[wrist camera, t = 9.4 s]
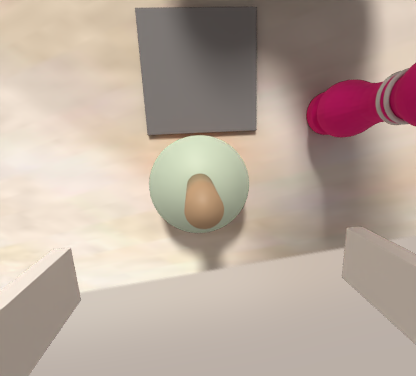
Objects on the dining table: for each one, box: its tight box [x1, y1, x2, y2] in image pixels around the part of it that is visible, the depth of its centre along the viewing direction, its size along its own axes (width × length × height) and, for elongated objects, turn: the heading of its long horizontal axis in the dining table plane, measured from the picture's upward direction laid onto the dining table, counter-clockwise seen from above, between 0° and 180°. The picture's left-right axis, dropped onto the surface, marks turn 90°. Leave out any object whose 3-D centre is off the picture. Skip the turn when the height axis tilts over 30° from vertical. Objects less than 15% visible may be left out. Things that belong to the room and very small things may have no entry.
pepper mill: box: [307, 63, 416, 138], centre depth 24 cm, size 7×7×20 cm
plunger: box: [149, 135, 249, 233], centre depth 24 cm, size 13×13×11 cm
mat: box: [135, 7, 257, 135], centre depth 31 cm, size 16×16×1 cm
